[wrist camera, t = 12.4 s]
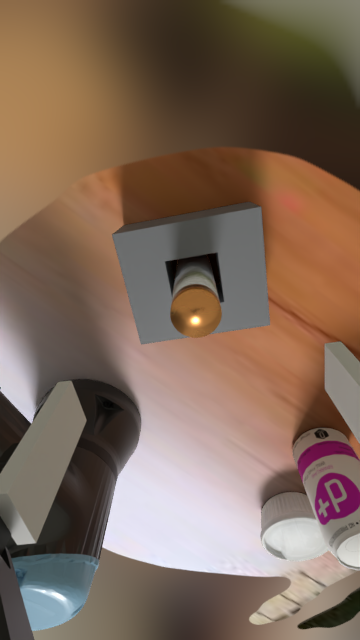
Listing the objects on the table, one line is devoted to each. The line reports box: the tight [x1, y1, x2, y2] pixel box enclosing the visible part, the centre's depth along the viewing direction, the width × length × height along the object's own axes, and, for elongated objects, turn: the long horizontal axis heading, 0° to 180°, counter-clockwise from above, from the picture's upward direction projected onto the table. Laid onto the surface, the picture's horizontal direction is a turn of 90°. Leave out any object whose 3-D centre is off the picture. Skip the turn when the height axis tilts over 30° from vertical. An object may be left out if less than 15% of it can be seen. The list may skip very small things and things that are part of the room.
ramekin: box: [261, 492, 329, 561], centre depth 52 cm, size 11×11×5 cm
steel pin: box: [170, 254, 222, 338], centre depth 31 cm, size 4×4×14 cm
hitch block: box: [112, 202, 270, 344], centre depth 35 cm, size 14×12×6 cm
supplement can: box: [293, 428, 360, 570], centre depth 42 cm, size 8×8×15 cm
